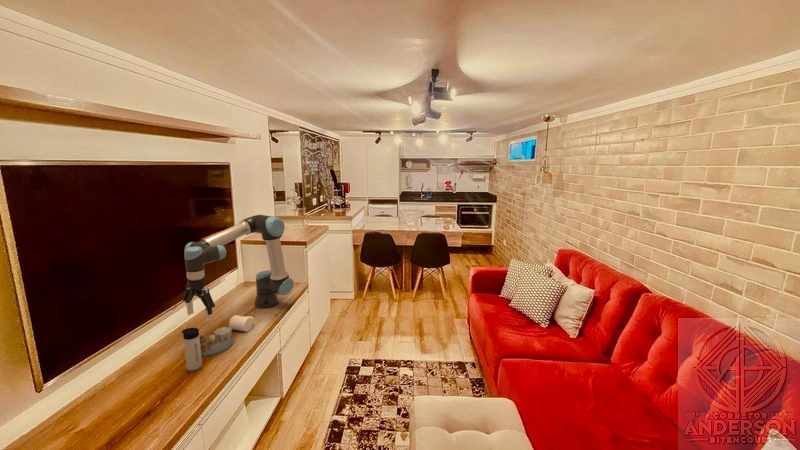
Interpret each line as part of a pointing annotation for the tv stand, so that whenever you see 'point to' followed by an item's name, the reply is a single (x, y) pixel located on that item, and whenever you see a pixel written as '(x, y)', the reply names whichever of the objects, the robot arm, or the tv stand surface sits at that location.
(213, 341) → the carrier
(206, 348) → the oak gear
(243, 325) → the mug
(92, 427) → the tv stand surface
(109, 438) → the tv stand surface
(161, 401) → the tv stand surface
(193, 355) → the travel mug
